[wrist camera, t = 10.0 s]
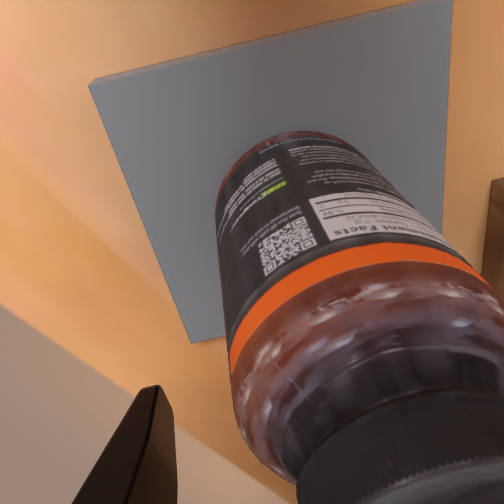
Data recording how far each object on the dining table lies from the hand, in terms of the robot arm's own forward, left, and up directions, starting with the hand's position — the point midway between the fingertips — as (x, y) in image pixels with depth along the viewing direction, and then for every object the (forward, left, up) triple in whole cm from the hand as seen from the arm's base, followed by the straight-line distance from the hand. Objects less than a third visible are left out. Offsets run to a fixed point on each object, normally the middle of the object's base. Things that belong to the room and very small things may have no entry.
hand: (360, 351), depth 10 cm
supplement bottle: (0, 0, -8) cm, 8 cm away
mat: (0, 0, -8) cm, 8 cm away
